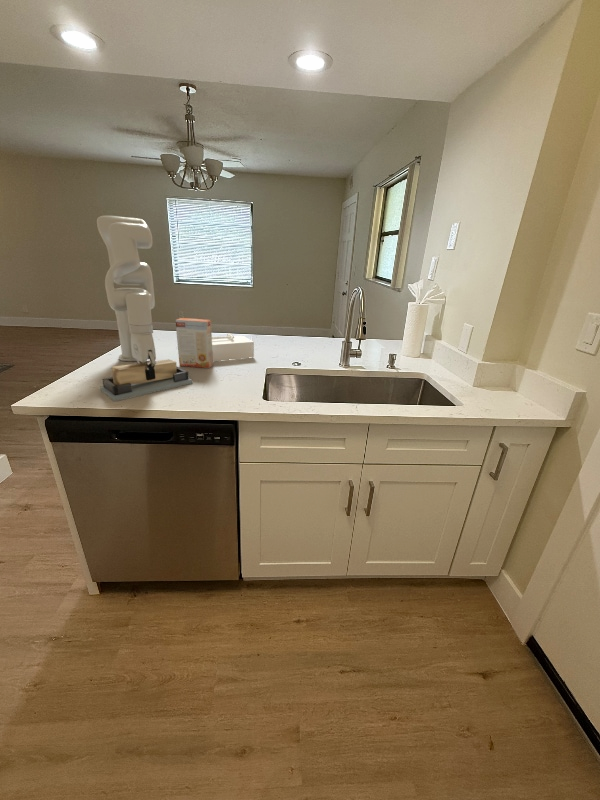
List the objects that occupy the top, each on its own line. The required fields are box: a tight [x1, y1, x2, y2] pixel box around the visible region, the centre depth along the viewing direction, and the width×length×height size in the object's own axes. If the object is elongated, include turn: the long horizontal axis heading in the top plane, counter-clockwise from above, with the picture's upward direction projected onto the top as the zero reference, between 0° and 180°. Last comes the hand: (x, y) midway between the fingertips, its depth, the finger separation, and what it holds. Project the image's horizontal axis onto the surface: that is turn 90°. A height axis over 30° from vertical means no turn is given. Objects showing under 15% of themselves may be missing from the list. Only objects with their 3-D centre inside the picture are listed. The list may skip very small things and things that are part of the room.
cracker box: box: [175, 317, 214, 369], centre depth 151 cm, size 14×6×21 cm, turn 84°
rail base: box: [99, 365, 193, 402], centre depth 127 cm, size 13×29×4 cm, turn 137°
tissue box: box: [212, 333, 255, 362], centre depth 169 cm, size 14×25×11 cm, turn 120°
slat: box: [111, 359, 178, 385], centre depth 125 cm, size 5×22×6 cm, turn 143°
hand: (147, 376), depth 126 cm, fingers closed on slat, 5 cm apart
